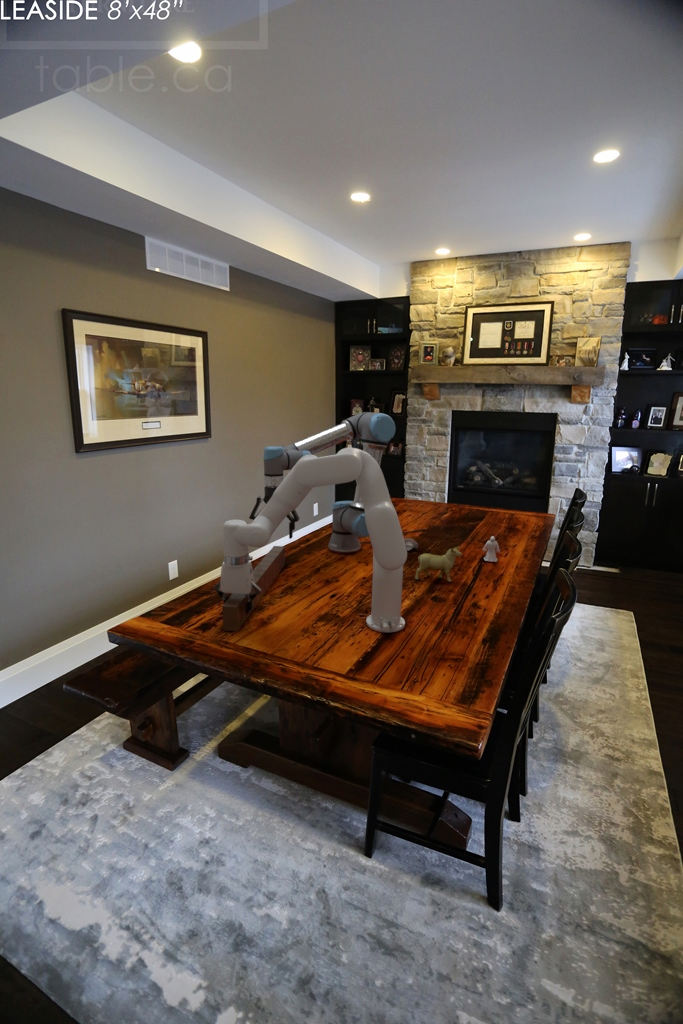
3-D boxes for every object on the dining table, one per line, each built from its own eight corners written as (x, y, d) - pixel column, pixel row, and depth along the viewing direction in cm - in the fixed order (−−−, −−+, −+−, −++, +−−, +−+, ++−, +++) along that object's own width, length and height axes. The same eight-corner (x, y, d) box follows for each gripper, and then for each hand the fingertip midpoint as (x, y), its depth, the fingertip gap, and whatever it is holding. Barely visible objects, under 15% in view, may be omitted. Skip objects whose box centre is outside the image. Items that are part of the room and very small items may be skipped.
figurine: (481, 562, 222) (483, 536, 219) (482, 556, 230) (484, 531, 227) (499, 564, 220) (501, 538, 217) (499, 558, 228) (501, 533, 225)
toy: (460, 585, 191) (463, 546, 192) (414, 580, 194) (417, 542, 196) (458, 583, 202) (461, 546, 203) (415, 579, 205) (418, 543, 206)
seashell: (406, 557, 238) (396, 544, 238) (411, 550, 242) (401, 537, 241) (417, 552, 232) (406, 539, 232) (422, 545, 236) (412, 532, 235)
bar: (237, 631, 156) (236, 607, 154) (223, 630, 156) (221, 605, 154) (285, 565, 215) (284, 546, 212) (274, 564, 215) (274, 545, 213)
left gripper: (306, 485, 201) (306, 535, 206) (246, 482, 204) (247, 532, 209) (302, 488, 194) (302, 541, 199) (240, 486, 197) (242, 537, 202)
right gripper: (266, 556, 161) (267, 608, 165) (214, 553, 163) (216, 604, 167) (259, 564, 153) (260, 618, 158) (205, 561, 156) (207, 614, 160)
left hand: (274, 536), depth 204 cm, fingers open, 13 cm apart
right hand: (237, 610), depth 162 cm, fingers open, 6 cm apart
